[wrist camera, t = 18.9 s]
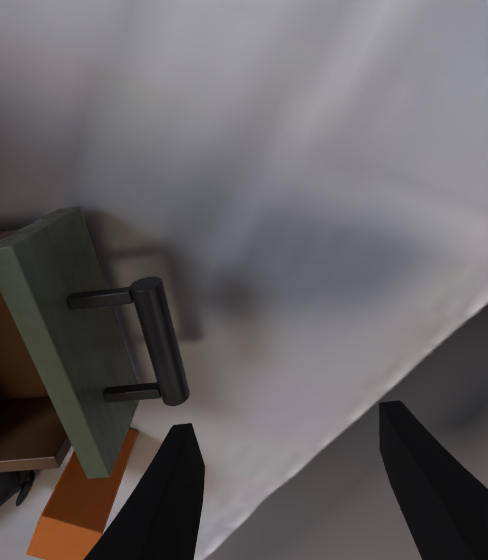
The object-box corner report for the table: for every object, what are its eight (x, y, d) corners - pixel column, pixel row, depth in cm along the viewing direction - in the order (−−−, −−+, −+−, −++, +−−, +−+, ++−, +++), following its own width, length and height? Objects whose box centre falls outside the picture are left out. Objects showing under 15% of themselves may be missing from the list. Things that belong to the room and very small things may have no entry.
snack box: (78, 450, 27) (25, 555, 21) (92, 414, 26) (40, 516, 19) (122, 464, 28) (83, 570, 21) (138, 430, 26) (102, 534, 20)
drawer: (164, 195, 18) (128, 232, 13) (207, 389, 23) (194, 471, 18) (-148, 235, 19) (-299, 283, 14) (-40, 410, 24) (-120, 494, 19)
